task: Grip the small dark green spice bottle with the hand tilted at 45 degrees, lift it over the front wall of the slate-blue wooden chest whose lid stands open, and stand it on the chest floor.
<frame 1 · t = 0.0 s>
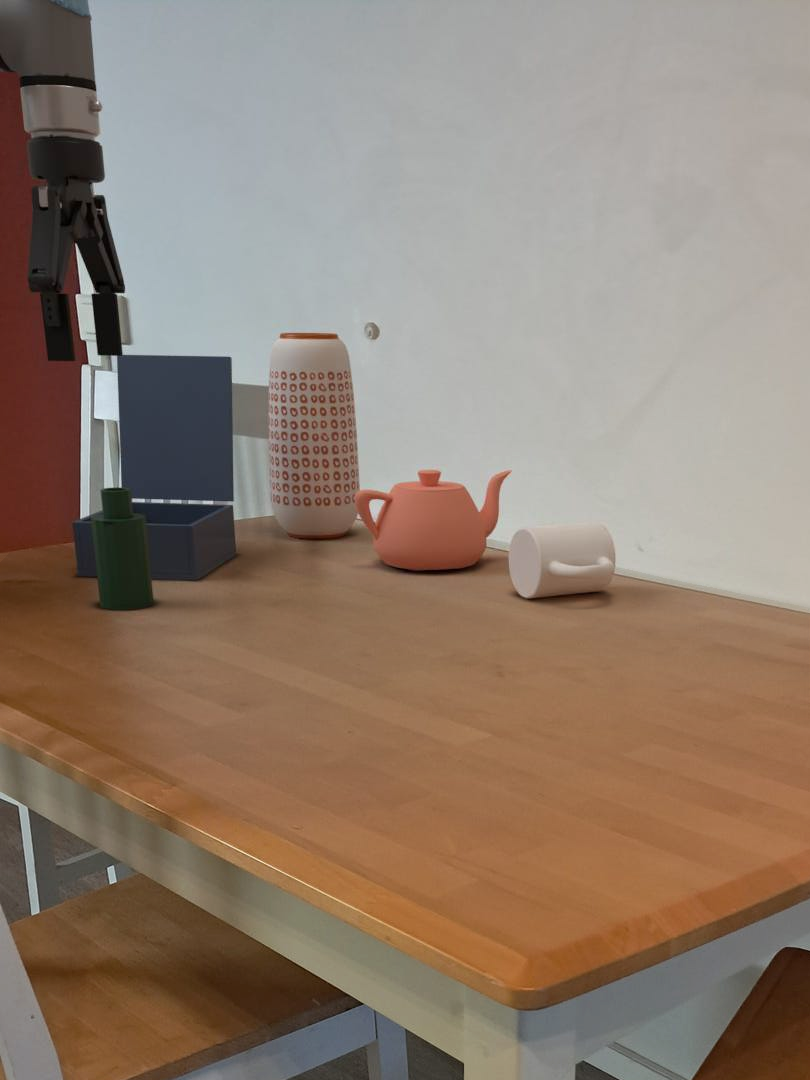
hand: (87, 358, 140), 27 cm above the table, tool pointing down, fingers open, 13 cm apart
teapot: (435, 565, 173), on the table
mug: (568, 599, 154), on the table
chest lid: (183, 430, 175), point 16 cm above the table, hinge at 100.0°
chest: (160, 565, 170), on the table
white patterned vase: (317, 535, 193), on the table
bottle: (127, 604, 148), on the table
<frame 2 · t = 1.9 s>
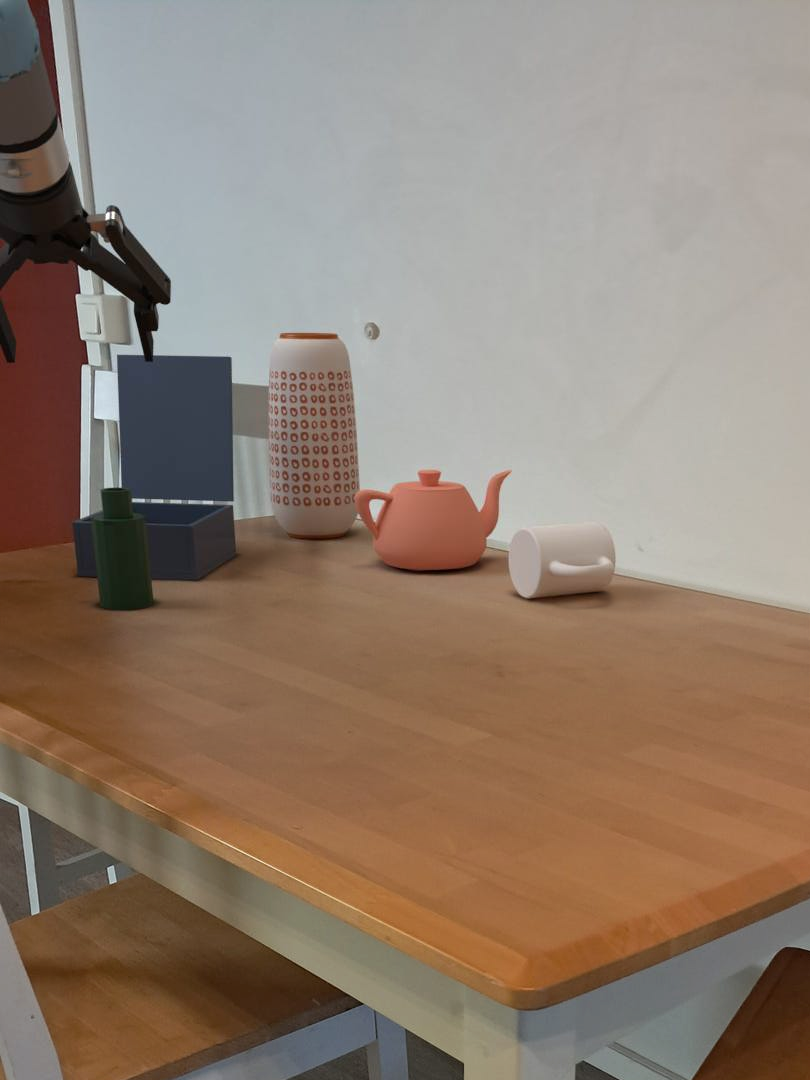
hand: (81, 352, 128), 28 cm above the table, tool tilted 45°, fingers open, 13 cm apart
nothing on the table moved.
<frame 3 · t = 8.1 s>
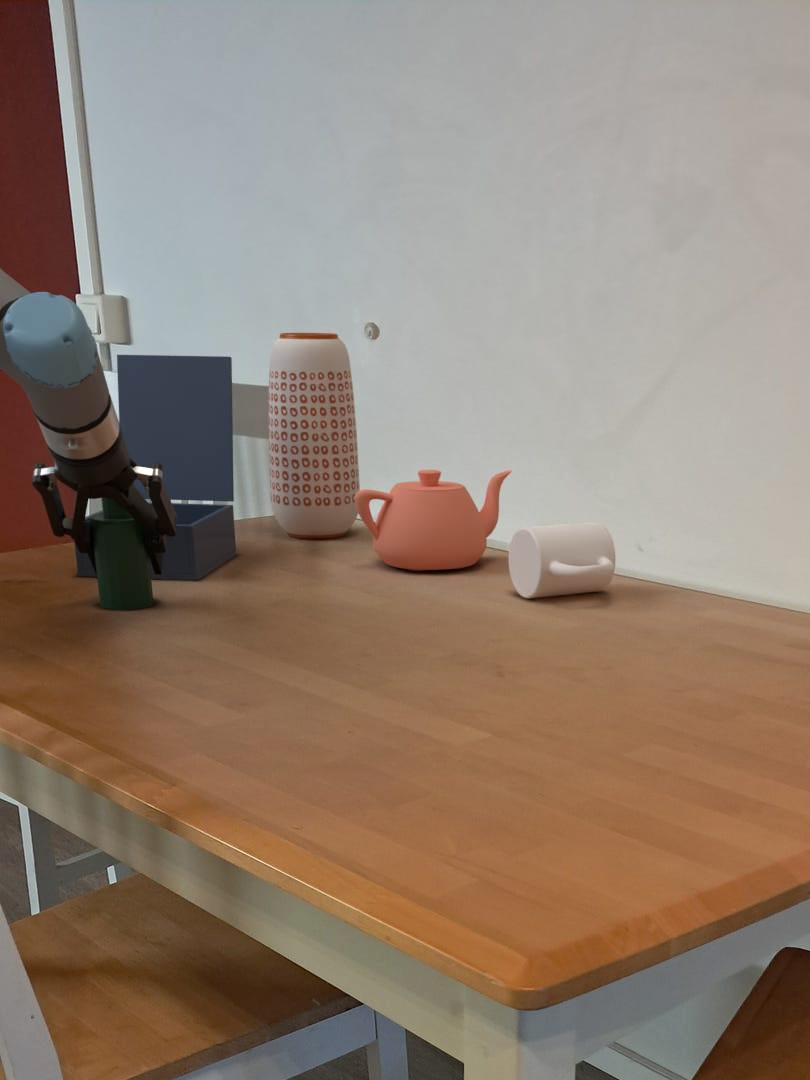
hand: (129, 564, 150), 4 cm above the table, tool tilted 45°, fingers closed on bottle, 6 cm apart
bottle: (126, 604, 148), on the table, touching gripper
everything else where it was.
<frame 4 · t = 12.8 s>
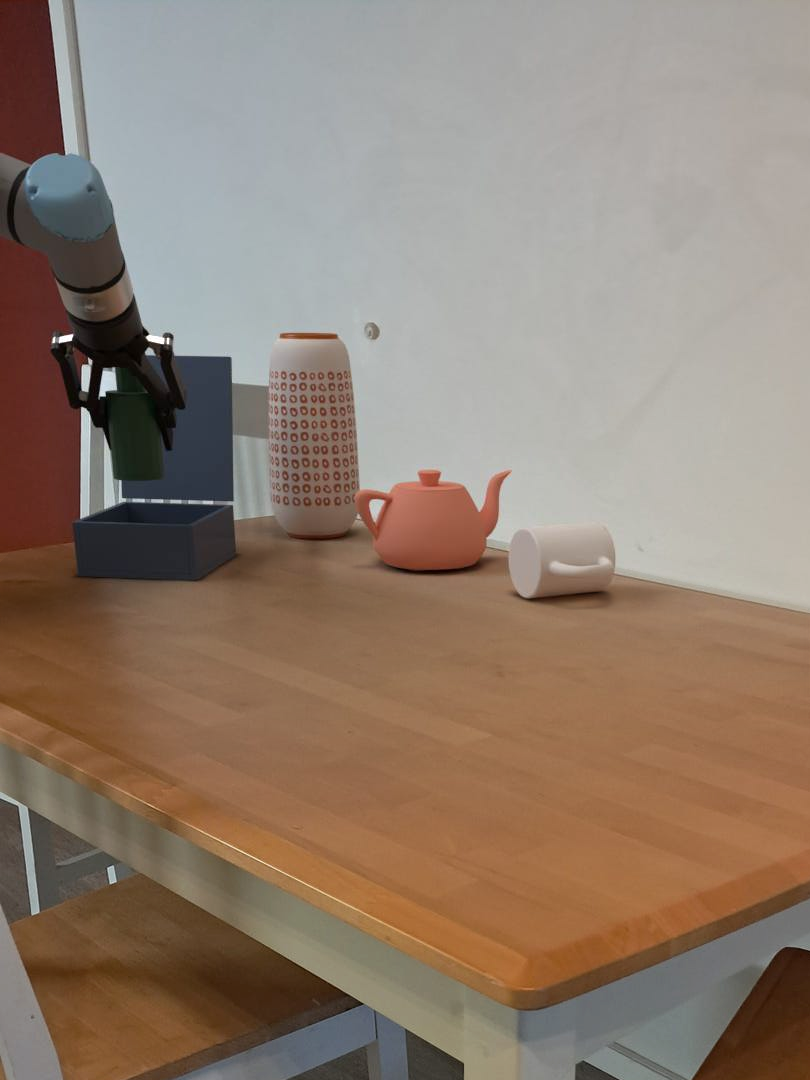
hand: (141, 441, 158), 16 cm above the table, tool tilted 45°, fingers closed on bottle, 6 cm apart
bottle: (139, 477, 156), point 12 cm above the table, touching gripper
everything else where it was.
when the fingers open (5 cm above the table, at t = 17.5 s): bottle stays where it is, resting on chest.
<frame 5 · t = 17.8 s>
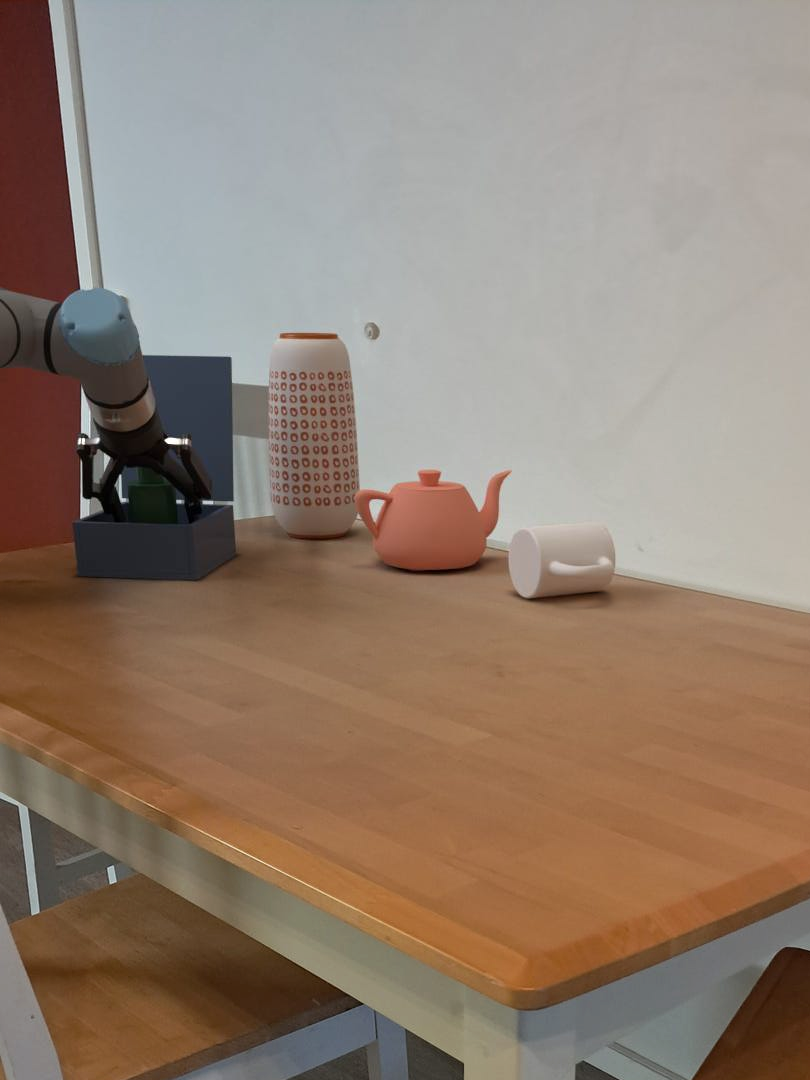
hand: (158, 525, 170), 5 cm above the table, tool tilted 45°, fingers open, 9 cm apart
bottle: (157, 560, 168), point 1 cm above the table, touching chest
everything else where it was.
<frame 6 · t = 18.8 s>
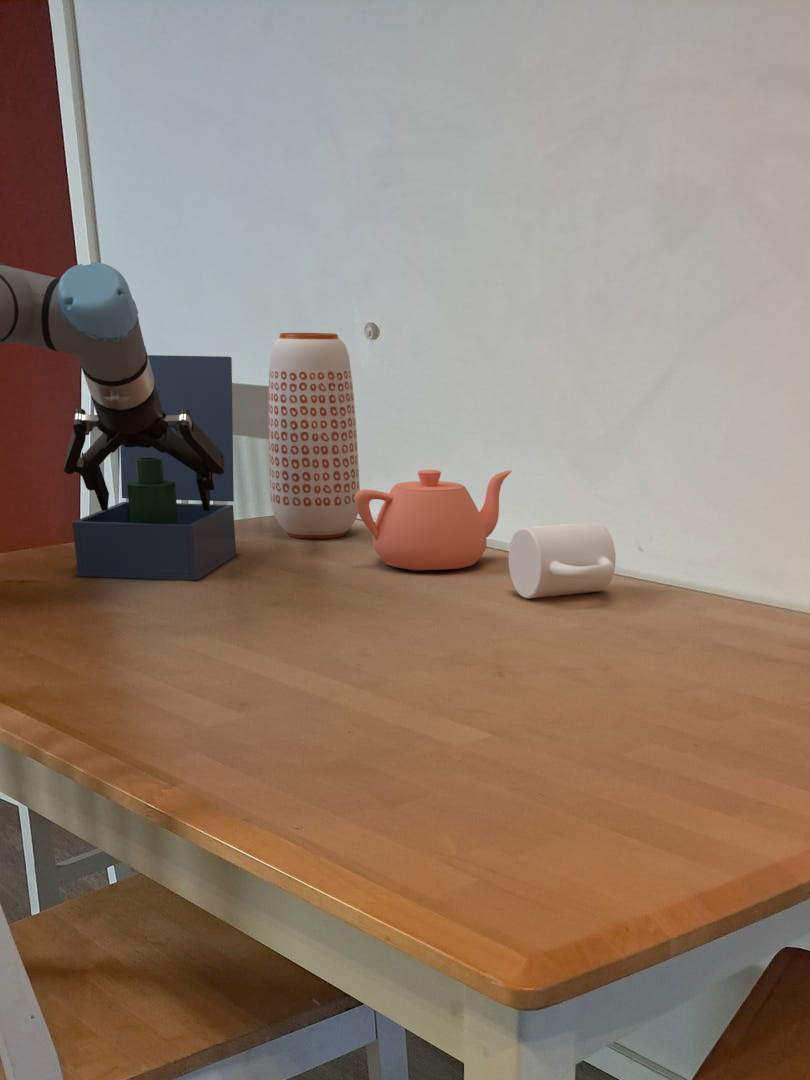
hand: (156, 502, 168), 8 cm above the table, tool tilted 45°, fingers open, 12 cm apart
nothing on the table moved.
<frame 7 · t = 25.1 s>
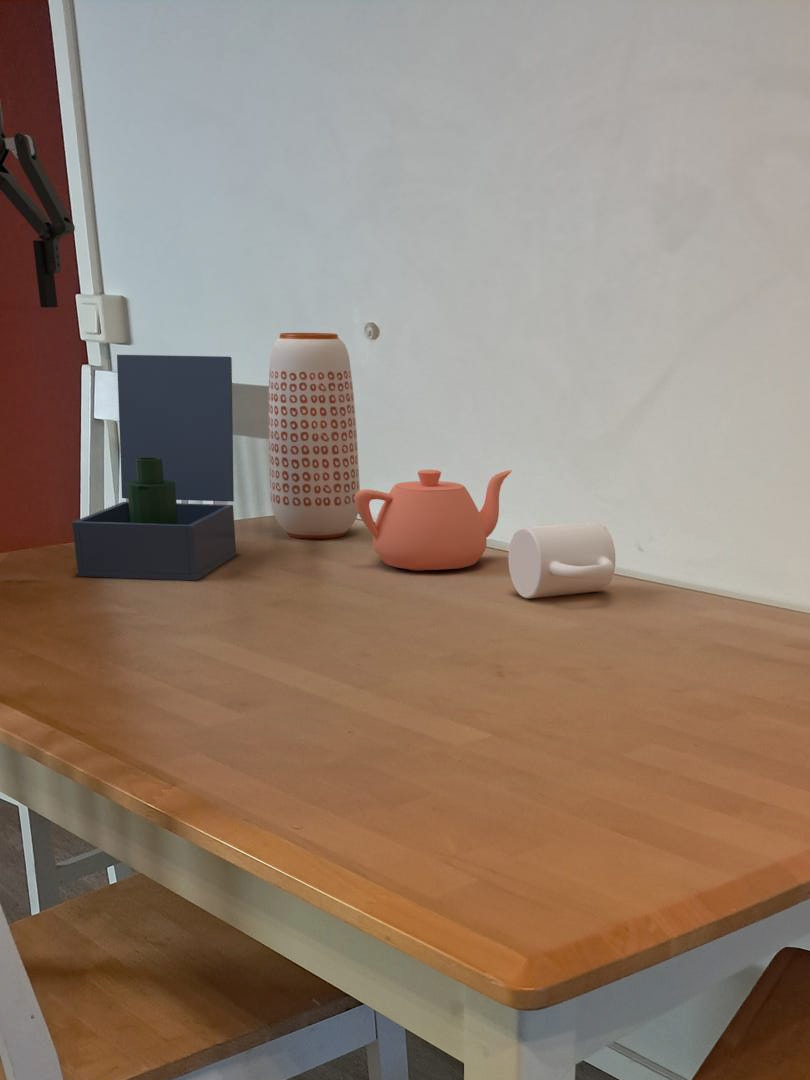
nothing on the table moved.
at the end: chest lid at +100° (first picture: +100°); bottle inside the target area in the chest (1.0 cm from its centre), point 0.8 cm above the chest's base; bottle tilted 0° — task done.
